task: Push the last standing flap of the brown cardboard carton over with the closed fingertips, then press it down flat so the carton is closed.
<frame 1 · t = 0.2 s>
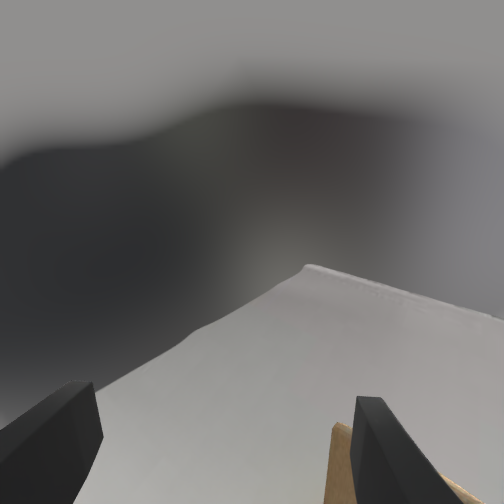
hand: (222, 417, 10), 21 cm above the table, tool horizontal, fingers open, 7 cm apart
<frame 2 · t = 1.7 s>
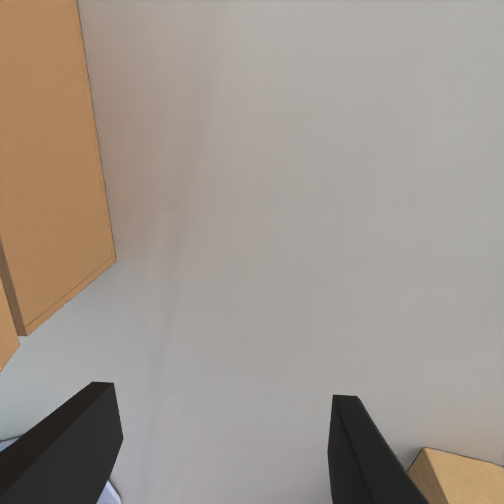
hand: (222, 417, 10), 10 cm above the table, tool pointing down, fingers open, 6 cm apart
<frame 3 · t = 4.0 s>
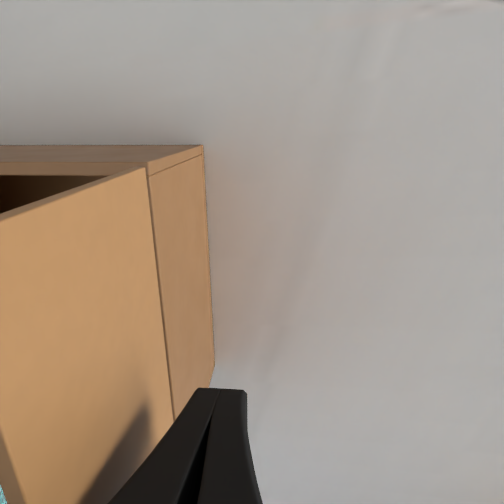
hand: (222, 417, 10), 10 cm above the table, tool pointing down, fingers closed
carton: (96, 265, 20), on the table
flap: (127, 445, 9), point 11 cm above the table, hinge at 92.0°, touching gripper
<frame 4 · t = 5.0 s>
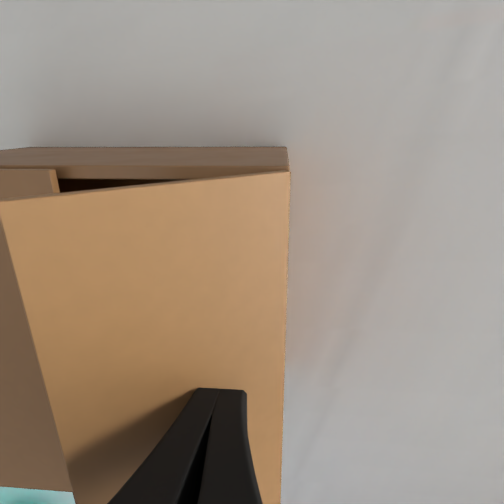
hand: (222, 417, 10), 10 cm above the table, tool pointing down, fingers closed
carton: (166, 268, 19), on the table
flap: (192, 413, 10), point 10 cm above the table, hinge at 38.2°
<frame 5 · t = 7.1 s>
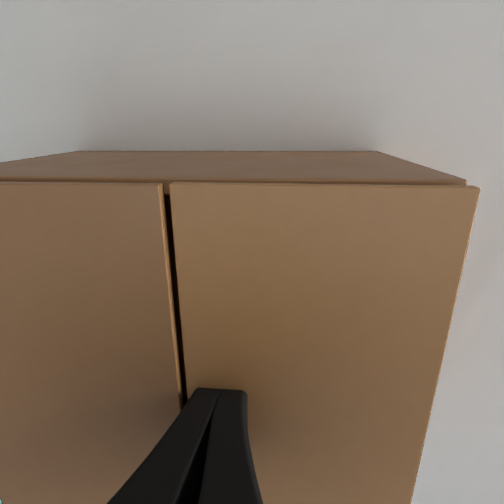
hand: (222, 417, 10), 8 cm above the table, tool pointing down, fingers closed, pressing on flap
carton: (227, 287, 17), on the table
flap: (303, 421, 9), point 8 cm above the table, hinge at -1.5°, touching gripper
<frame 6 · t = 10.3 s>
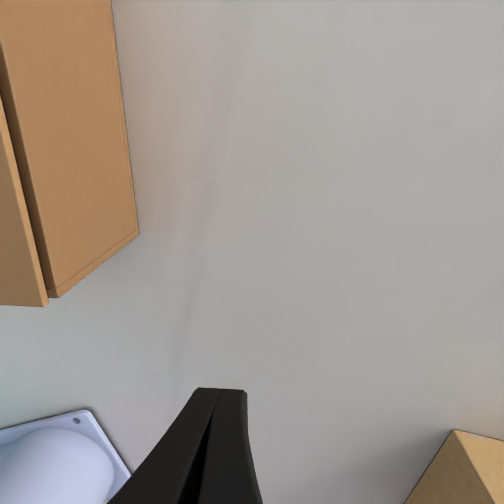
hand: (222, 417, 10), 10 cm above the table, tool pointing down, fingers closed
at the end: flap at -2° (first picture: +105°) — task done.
